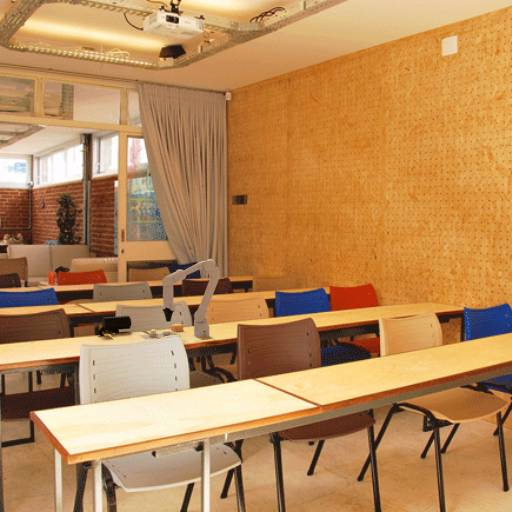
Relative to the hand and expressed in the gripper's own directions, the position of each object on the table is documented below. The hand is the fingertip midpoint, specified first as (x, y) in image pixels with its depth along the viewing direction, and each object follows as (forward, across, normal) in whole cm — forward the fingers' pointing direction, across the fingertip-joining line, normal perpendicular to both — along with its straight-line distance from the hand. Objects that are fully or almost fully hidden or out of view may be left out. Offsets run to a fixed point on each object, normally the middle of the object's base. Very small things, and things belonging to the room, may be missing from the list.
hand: (168, 321), depth 358 cm
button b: (+6, +1, -9) cm, 11 cm away
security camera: (+9, -19, -25) cm, 33 cm away
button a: (+7, +1, -1) cm, 7 cm away
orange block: (+8, -9, +9) cm, 15 cm away
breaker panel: (+8, +1, -5) cm, 10 cm away
